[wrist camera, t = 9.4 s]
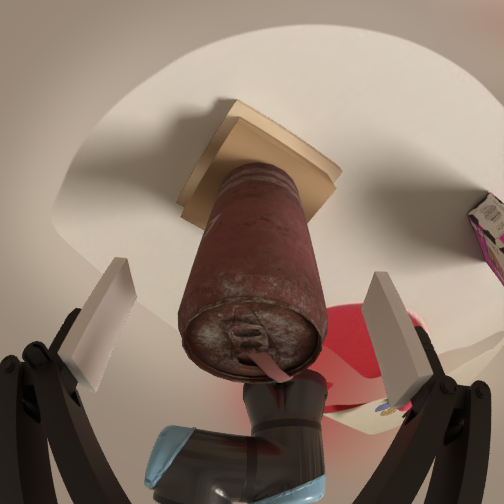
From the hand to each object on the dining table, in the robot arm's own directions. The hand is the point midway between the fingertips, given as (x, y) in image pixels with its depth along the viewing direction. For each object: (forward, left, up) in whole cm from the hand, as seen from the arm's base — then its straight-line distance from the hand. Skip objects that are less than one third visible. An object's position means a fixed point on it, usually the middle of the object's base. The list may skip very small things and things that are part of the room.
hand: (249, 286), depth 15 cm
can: (+1, 0, -10) cm, 10 cm away
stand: (0, 0, -14) cm, 14 cm away
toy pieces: (-25, -56, -15) cm, 63 cm away
